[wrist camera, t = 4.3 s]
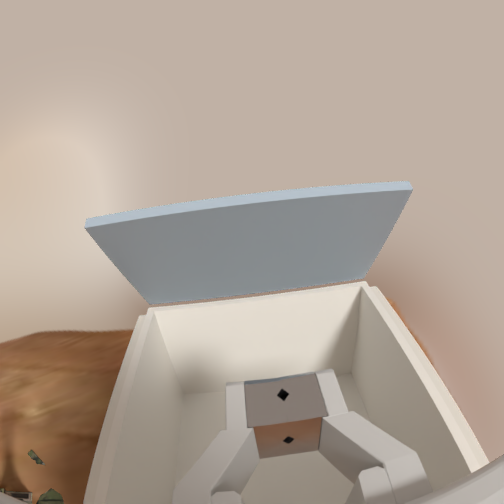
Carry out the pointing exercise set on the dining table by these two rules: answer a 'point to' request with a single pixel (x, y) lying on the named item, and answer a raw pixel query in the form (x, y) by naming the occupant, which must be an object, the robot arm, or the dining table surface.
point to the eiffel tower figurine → (50, 500)
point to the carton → (266, 367)
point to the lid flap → (251, 240)
